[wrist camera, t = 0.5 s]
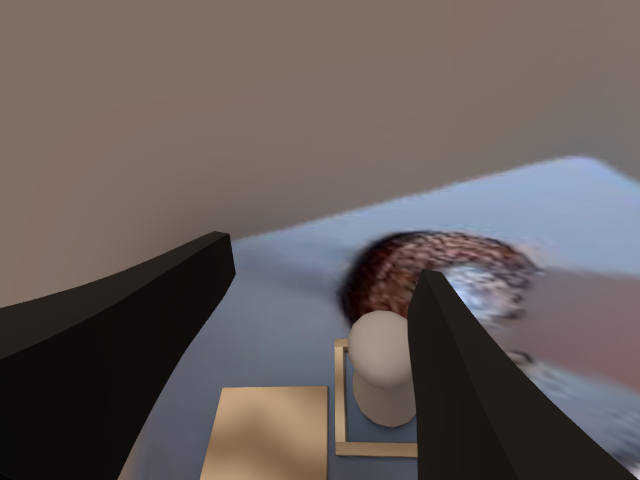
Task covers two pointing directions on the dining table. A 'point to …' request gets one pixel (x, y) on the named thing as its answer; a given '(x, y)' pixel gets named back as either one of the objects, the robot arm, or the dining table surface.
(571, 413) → the dining table surface
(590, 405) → the dining table surface
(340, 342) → the birch collar
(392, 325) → the beige bowling pin
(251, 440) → the cork mat
